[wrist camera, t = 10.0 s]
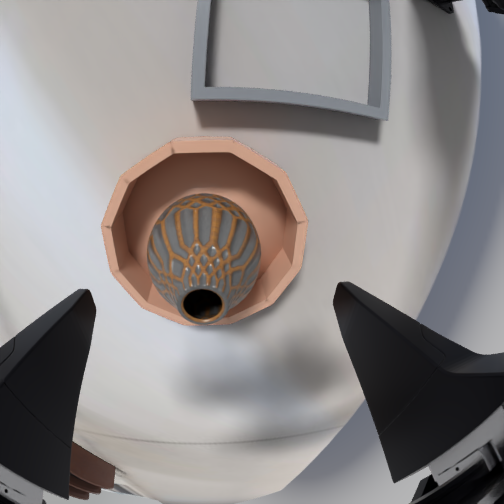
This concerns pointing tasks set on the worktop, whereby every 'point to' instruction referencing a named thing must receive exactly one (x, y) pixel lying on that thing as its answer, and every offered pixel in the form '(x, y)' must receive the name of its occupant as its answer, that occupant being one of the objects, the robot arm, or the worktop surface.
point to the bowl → (214, 182)
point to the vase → (204, 256)
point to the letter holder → (88, 473)
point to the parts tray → (374, 109)
